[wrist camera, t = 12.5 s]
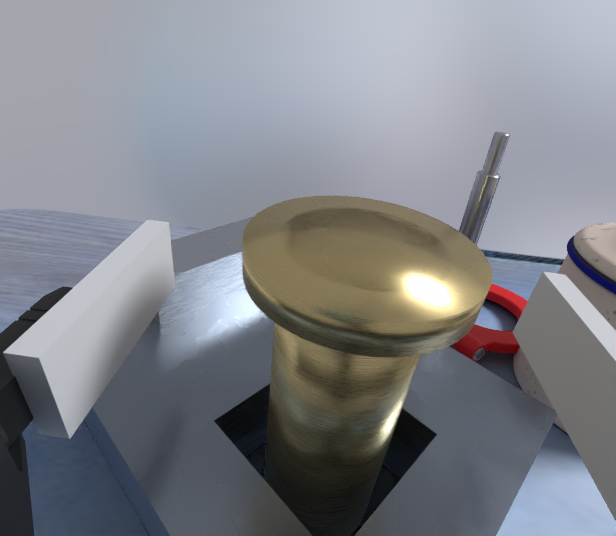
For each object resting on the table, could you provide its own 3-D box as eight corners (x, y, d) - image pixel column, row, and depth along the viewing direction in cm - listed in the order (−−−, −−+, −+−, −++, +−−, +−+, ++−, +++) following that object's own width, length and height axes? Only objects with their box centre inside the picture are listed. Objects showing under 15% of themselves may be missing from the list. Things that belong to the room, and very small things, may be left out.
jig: (521, 466, 18) (587, 370, 15) (321, 839, 9) (372, 816, 6) (274, 290, 28) (279, 209, 25) (65, 387, 19) (28, 282, 16)
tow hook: (471, 281, 33) (387, 301, 28) (528, 123, 27) (432, 118, 22) (567, 341, 26) (478, 378, 22) (671, 151, 20) (575, 152, 16)
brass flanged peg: (418, 492, 17) (529, 256, 10) (317, 625, 13) (399, 372, 6) (314, 400, 20) (349, 183, 14) (209, 480, 16) (192, 226, 10)
